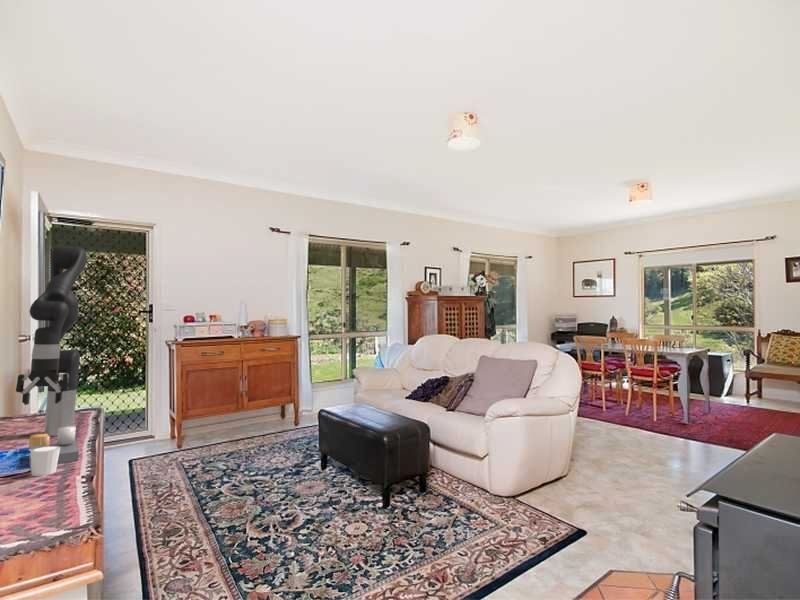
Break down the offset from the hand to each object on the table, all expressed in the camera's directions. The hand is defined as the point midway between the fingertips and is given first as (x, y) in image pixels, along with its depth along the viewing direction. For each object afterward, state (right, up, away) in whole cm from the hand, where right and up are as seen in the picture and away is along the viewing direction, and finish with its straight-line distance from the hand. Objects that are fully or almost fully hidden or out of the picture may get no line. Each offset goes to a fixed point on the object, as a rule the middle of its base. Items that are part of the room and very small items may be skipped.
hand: (41, 403), depth 149 cm
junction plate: (+12, -16, -10) cm, 22 cm away
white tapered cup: (+20, -15, -23) cm, 34 cm away
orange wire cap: (0, -16, -1) cm, 16 cm away
